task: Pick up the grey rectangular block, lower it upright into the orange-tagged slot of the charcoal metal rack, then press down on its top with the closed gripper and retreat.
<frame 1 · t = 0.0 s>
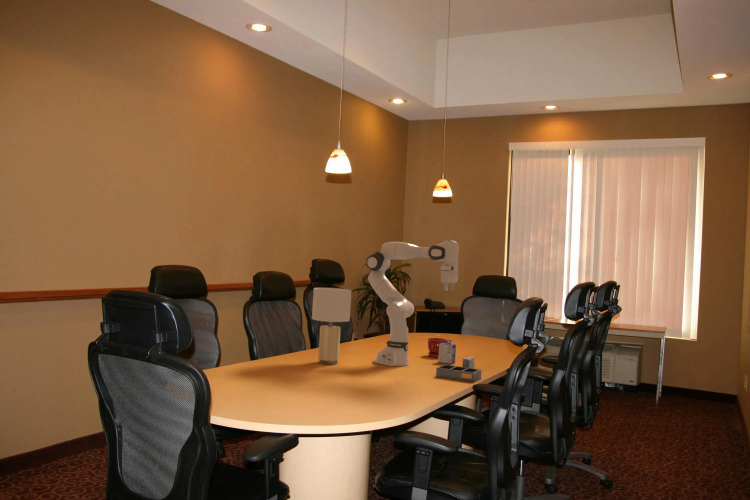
hand: (449, 290, 372), 48 cm above the table, fingers open, 8 cm apart
ink cartridge box: (446, 363, 401), on the table
grey rectangular block: (467, 373, 370), on the table
lamp: (328, 363, 375), on the table
plant pot: (436, 356, 424), on the table
slot rack: (458, 377, 354), on the table
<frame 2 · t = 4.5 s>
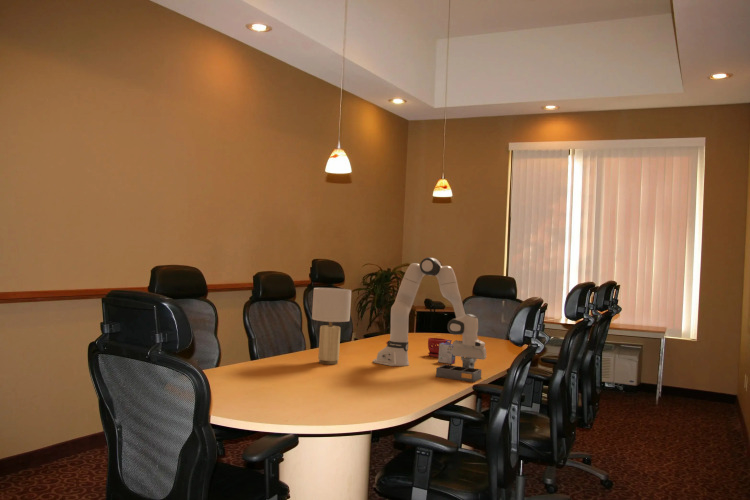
hand: (468, 365, 370), 5 cm above the table, fingers closed on grey rectangular block, 4 cm apart
grey rectangular block: (467, 373, 370), on the table, touching gripper
everything else where it was.
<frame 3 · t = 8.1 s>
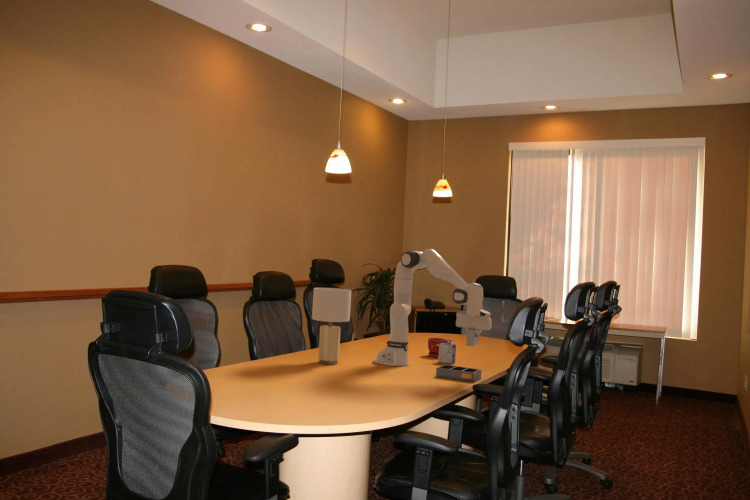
hand: (472, 336, 351), 24 cm above the table, fingers closed on grey rectangular block, 4 cm apart
grey rectangular block: (472, 344, 351), point 19 cm above the table, touching gripper
everything else where it was.
when the fingers open (7 cm above the table, at t = 11.9 s): grey rectangular block drops 1 cm, resting on slot rack.
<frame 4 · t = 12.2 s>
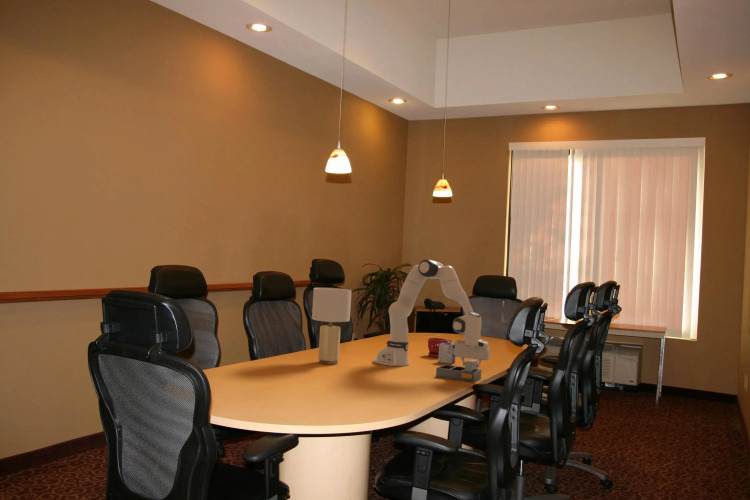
hand: (471, 366, 351), 7 cm above the table, fingers open, 6 cm apart
grey rectangular block: (470, 377, 351), point 1 cm above the table, touching slot rack
everything else where it was.
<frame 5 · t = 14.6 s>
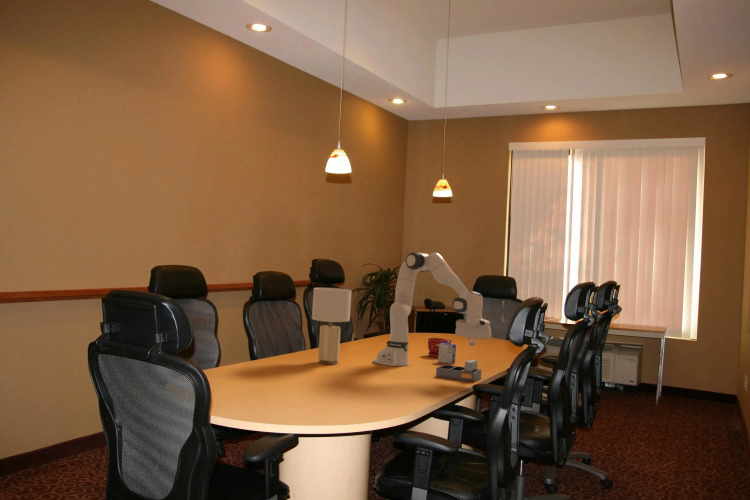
hand: (472, 345, 351), 19 cm above the table, fingers closed
nothing on the table moved.
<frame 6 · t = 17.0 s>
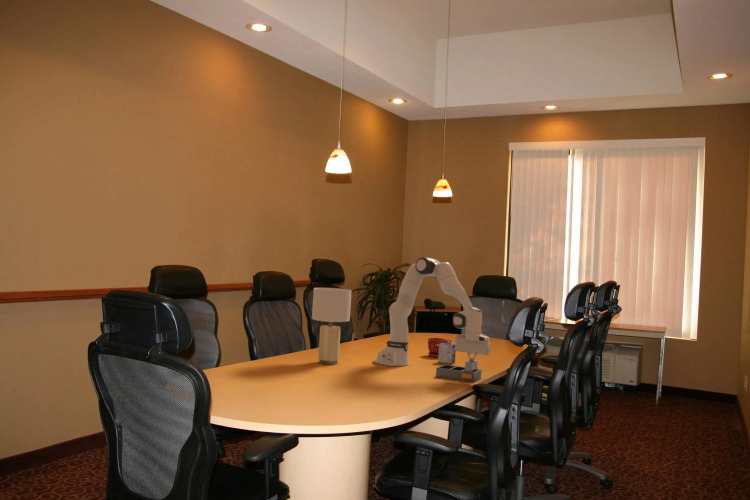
hand: (472, 361, 351), 10 cm above the table, fingers closed, pressing on grey rectangular block
grey rectangular block: (470, 377, 351), point 1 cm above the table, touching gripper, slot rack
everything else where it was.
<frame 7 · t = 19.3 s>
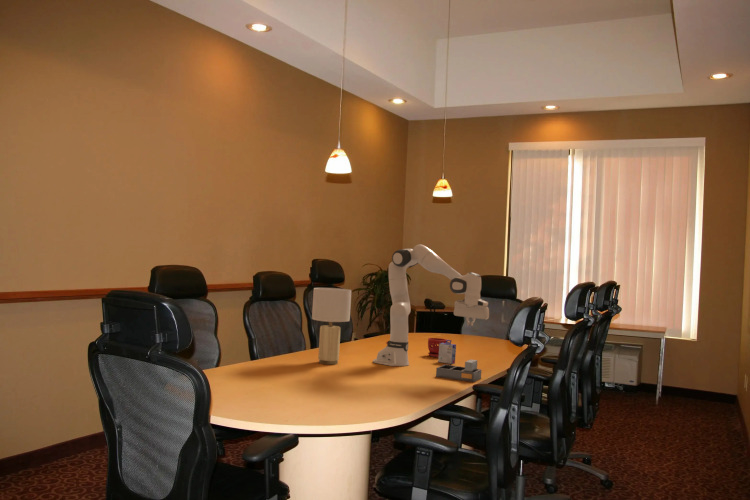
hand: (470, 325, 356), 30 cm above the table, fingers closed
grey rectangular block: (470, 377, 351), point 1 cm above the table, touching slot rack
everything else where it was.
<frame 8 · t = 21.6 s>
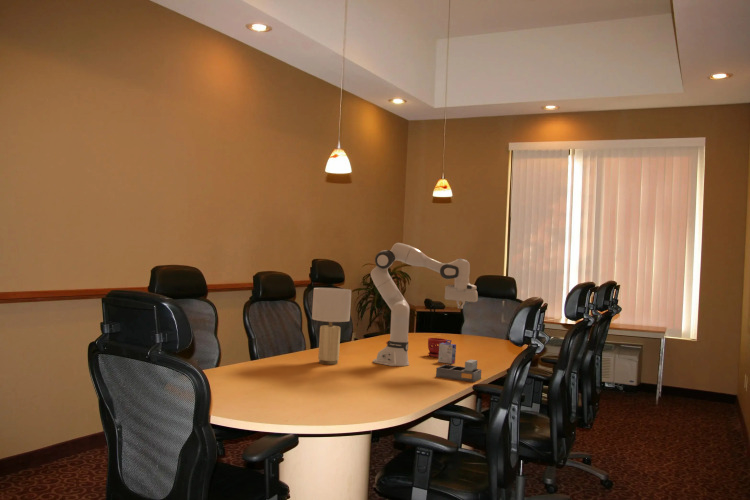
hand: (460, 308, 379), 37 cm above the table, fingers closed
nothing on the table moved.
at the end: grey rectangular block 0.1 cm from the target spot on the slot rack, point 1.2 cm above the slot rack's base; grey rectangular block tilted 0°; the gripper is holding nothing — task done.
